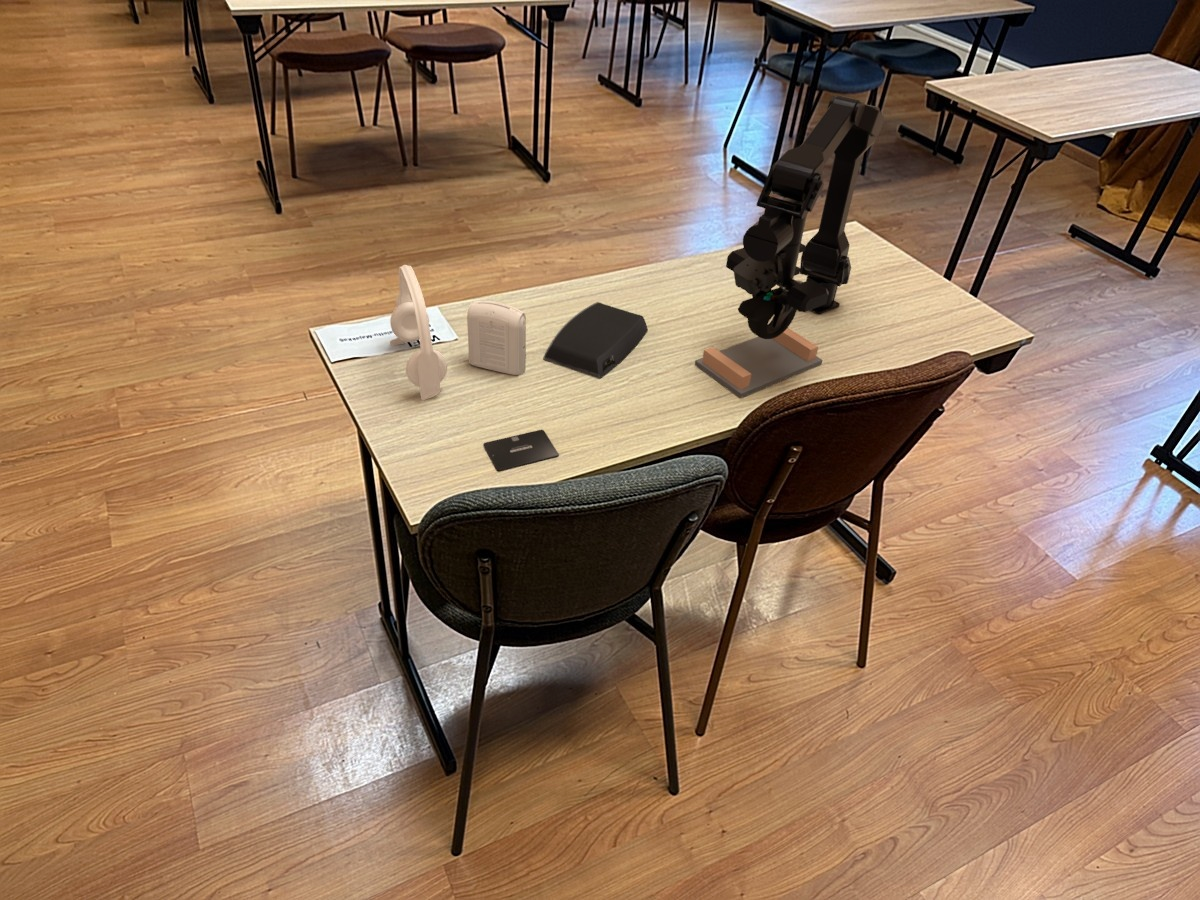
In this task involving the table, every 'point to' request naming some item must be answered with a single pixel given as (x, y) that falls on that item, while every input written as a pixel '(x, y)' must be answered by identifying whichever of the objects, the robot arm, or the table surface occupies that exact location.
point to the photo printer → (497, 337)
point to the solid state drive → (520, 450)
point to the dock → (759, 362)
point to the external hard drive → (596, 340)
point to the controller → (764, 314)
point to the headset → (417, 335)
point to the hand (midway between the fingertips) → (767, 321)
